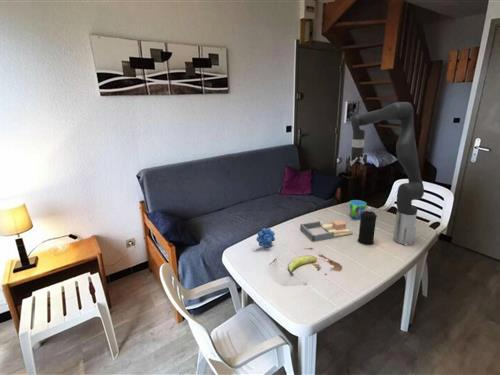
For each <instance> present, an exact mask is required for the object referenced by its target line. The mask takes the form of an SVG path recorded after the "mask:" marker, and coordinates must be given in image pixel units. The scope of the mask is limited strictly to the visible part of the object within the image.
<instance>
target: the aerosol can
mask: <svg viewBox="0 0 500 375" xmlns="http://www.w3.org/2000/svg"><path fill="white" fill-rule="evenodd" d="M360 215H361V218H360V219H359V220H360V221H359V228H358V230H359V232H358V239H357V241H358V242H359V243H360V244H362V245H365V246H370V245H373V244H375V242H374V239H375V232H376V231H375V230H376V223H377V222H376V221H377V218H378V215H377V214H376V213H375V212H374V211H372V207H370V206H367V210H365V211H364V212H362V213H361V214H360Z"/></svg>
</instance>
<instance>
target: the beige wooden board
mask: <svg viewBox="0 0 500 375" xmlns="http://www.w3.org/2000/svg"><path fill="white" fill-rule="evenodd" d="M320 228H322V230H324V231H325V232H326V233H329V232H334V238H336V239H337V238H342V237H346V236H347V237H348V236H352V235H353V232H352V231H351V230H350V229H348V228H347V227H346V229H342V230H336V229H334V228H333V227H332V222H326V223H322V224H321V223H320ZM334 238H333V239H334Z"/></svg>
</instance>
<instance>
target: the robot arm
mask: <svg viewBox="0 0 500 375" xmlns="http://www.w3.org/2000/svg"><path fill="white" fill-rule="evenodd" d="M414 114H415V113H414V107H413V105H412V103H410V102H409V101H398V102H397V101H396V102H393V103H391V104H389V105H387V106H385V107H383V108H380V109H376V110H372V111H368V112H366V113H363V114H362V113H361V114H353V116H352V117H351V120H350V123H351V124H350V125H351V129H352V141H351V154H350V155H348V154H347V155H346V159H345V165H347V167H348V168H347V169H348V172H352V171H353V170H352V169H353V165H354V164H355V163H356V162H359V163H360V164H359V170H361V171H362V170H364V166H365V164H367V161H368V154H366V153H364V152H365V151H364V149H365V135H366V132H365V130H364V129H361V128H360V127H361V126H363V127H364V126H367V125H373V124H376V123H379V122H381V121H397V122H398V121H400V126H401V127H400V128H401V129H400V134H399V136H398V138H397V141H396V144H395V149H396V152H395V153H396V158H397V160H398V162H399V164H400V165H401V167H402V168H403V169H404V170H405V172H406V175H407V178H408V179H407V180H408V182H404V183H401V184H400V185H398V187H397V188H398V189H397V193H396V215H395V221H394V222H395V224H394V229H393V237H392V240H393V241H394V242H395V241H396V242H395V243H397V242H398V243H397V244H400V243H401V245H403V244H404V245H403V246H406V245H405V244H408V245H411V244H410V243H413V244H414V241H415V237H416V231H417V227H416V226H415V225H416V221H417V216H418V215H417V213H418V207H417V206H415V205H413V204H412V203H413V201H416V200H420V199H422V198H423V197H424V195H425V187H424V183H423V178H422V176H421V175H422V174H421V171H420V164H419V159H418V150H417V142H416V137H415V136H416V135H415V134H416V133H415V123H414V122H415V121H414V119H415V118H414V116H415V115H414Z"/></svg>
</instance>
